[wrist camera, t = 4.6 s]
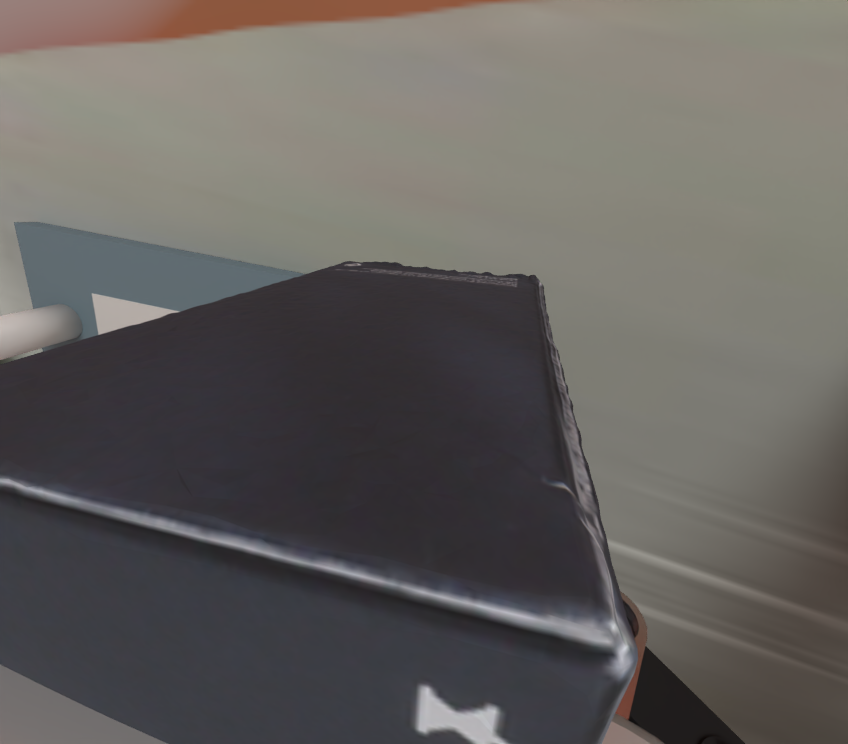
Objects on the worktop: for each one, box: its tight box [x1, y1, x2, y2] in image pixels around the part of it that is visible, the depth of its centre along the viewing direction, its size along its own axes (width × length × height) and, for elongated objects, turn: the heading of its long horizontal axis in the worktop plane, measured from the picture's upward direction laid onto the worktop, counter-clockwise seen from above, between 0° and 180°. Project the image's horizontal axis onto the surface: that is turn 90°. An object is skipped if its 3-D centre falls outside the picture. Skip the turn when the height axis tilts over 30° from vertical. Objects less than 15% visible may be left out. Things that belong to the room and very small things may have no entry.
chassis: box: [0, 222, 305, 360], centre depth 22 cm, size 16×18×5 cm
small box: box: [0, 261, 638, 744], centre depth 9 cm, size 11×6×10 cm, turn 176°
